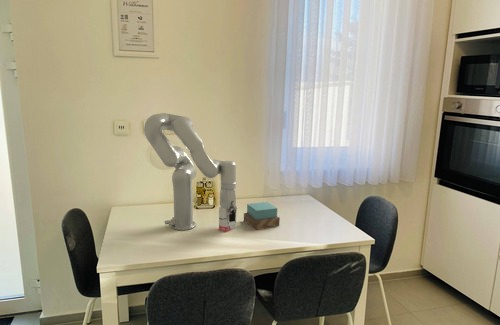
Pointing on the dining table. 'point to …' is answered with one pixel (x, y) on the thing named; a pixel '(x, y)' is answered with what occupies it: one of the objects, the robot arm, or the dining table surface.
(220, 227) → the ink box
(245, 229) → the dining table surface
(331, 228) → the dining table surface
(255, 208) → the teal top block
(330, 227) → the dining table surface
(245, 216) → the walnut base block
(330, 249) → the dining table surface
